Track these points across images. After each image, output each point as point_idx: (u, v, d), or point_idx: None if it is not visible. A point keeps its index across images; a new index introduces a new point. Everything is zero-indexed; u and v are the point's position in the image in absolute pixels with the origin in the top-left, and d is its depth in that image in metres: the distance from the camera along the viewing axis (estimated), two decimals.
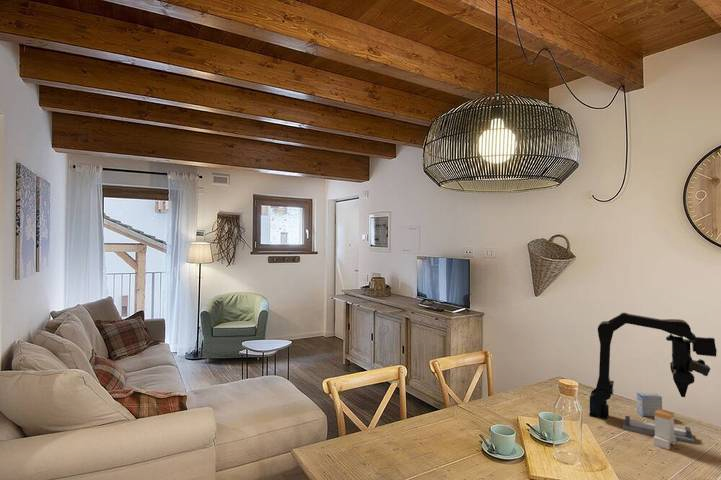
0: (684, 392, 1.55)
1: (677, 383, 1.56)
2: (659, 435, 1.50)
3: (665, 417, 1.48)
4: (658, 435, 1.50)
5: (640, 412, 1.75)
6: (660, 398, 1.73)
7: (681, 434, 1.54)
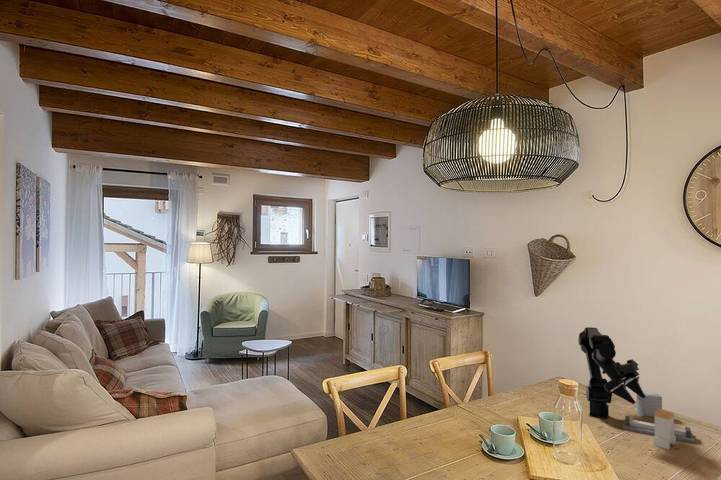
0: (630, 398, 1.54)
1: (617, 393, 1.57)
2: (658, 435, 1.50)
3: (665, 417, 1.48)
4: (658, 435, 1.50)
5: (640, 412, 1.75)
6: (660, 398, 1.73)
7: (681, 434, 1.54)
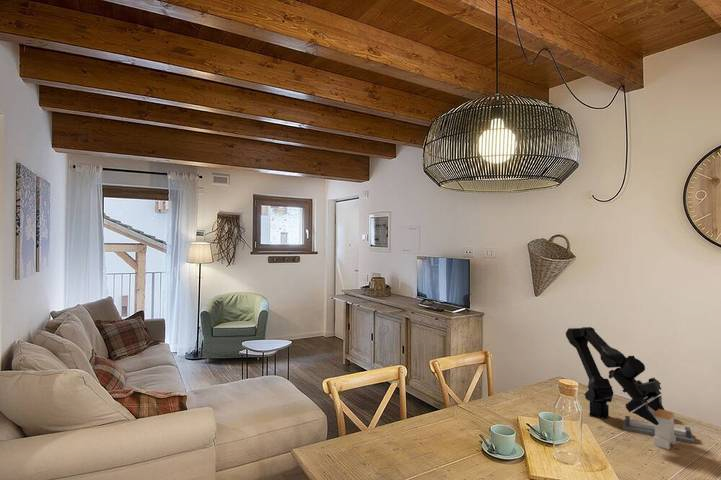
0: (653, 419, 1.48)
1: (639, 414, 1.51)
2: (658, 435, 1.50)
3: (665, 417, 1.48)
4: (658, 435, 1.50)
5: None
6: None
7: (681, 434, 1.54)
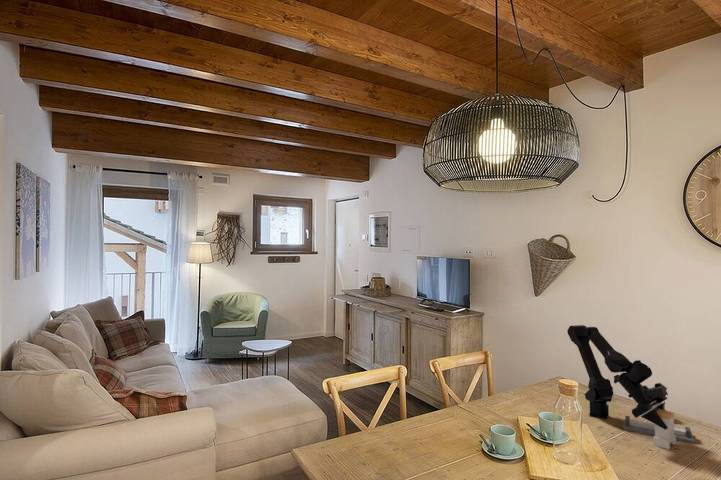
0: (661, 423, 1.48)
1: (648, 418, 1.51)
2: (659, 435, 1.50)
3: (665, 417, 1.48)
4: (658, 435, 1.50)
5: None
6: None
7: (681, 434, 1.54)
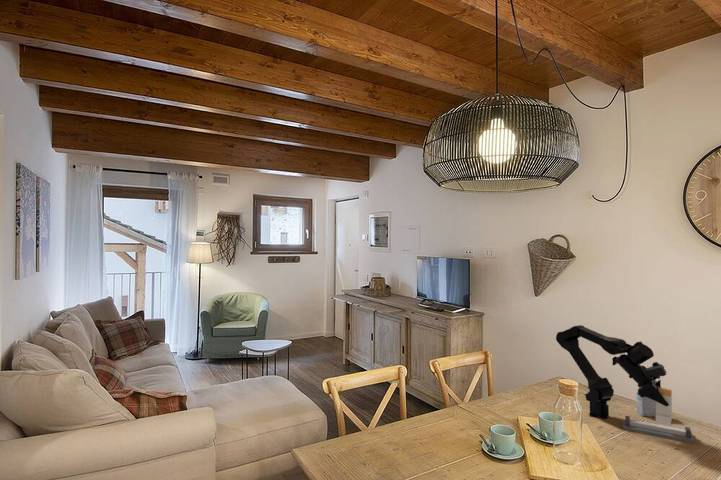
0: (663, 401, 1.54)
1: (651, 397, 1.55)
2: (660, 412, 1.55)
3: (666, 394, 1.54)
4: (659, 412, 1.55)
5: (640, 412, 1.75)
6: None
7: (681, 434, 1.54)
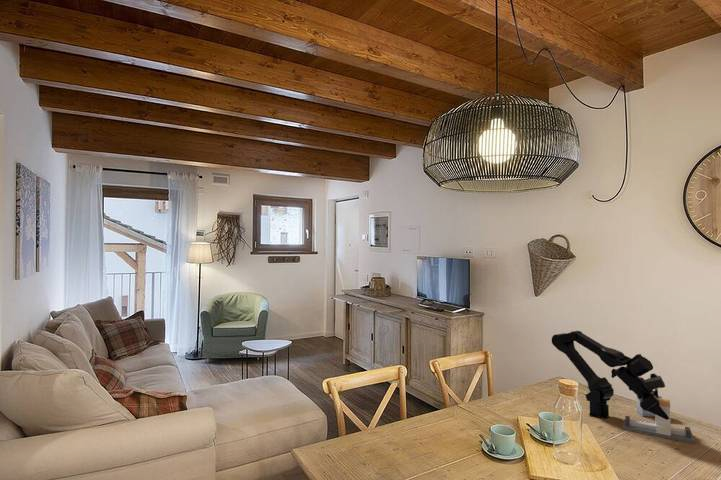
0: (664, 414, 1.54)
1: (651, 410, 1.55)
2: (659, 423, 1.57)
3: (666, 405, 1.56)
4: (659, 423, 1.57)
5: (640, 412, 1.75)
6: None
7: (681, 434, 1.54)
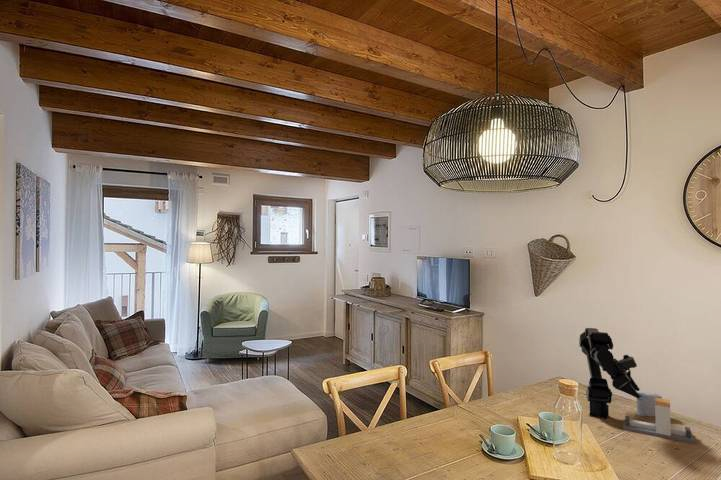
0: (635, 393, 1.59)
1: (623, 389, 1.60)
2: (659, 423, 1.57)
3: (666, 405, 1.56)
4: (659, 423, 1.57)
5: (640, 412, 1.75)
6: None
7: (681, 434, 1.54)
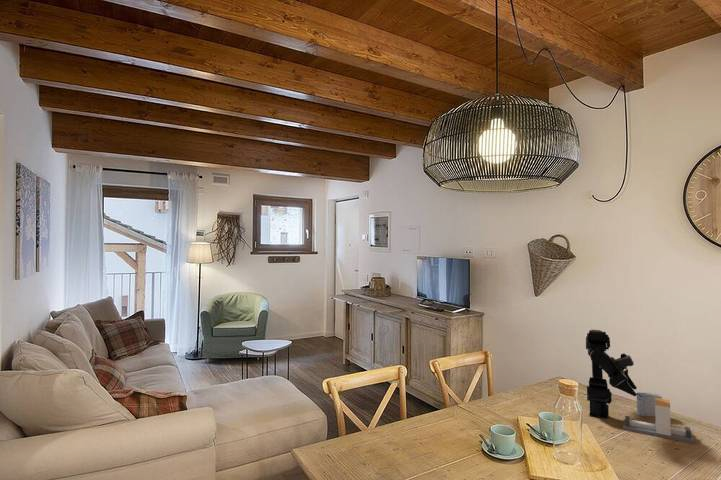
0: (632, 391, 1.61)
1: (620, 387, 1.62)
2: (659, 423, 1.57)
3: (666, 405, 1.56)
4: (659, 423, 1.57)
5: (640, 412, 1.75)
6: None
7: (681, 434, 1.54)
